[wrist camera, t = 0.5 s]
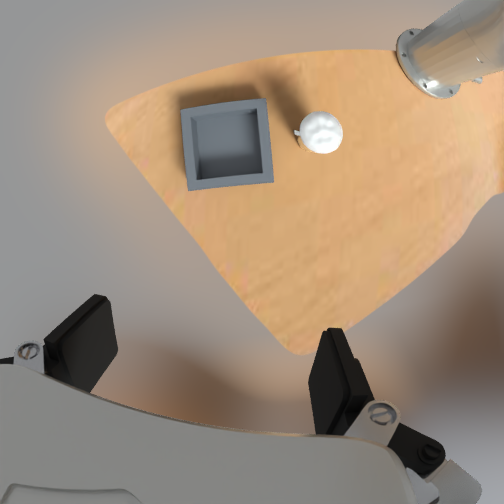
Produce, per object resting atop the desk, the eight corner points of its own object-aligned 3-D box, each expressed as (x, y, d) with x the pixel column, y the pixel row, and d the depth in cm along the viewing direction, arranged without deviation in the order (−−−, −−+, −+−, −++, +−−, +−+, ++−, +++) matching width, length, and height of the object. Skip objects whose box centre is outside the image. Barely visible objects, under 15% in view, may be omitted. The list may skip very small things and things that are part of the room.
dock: (265, 105, 32) (266, 98, 29) (273, 181, 35) (274, 182, 32) (188, 114, 33) (180, 109, 29) (195, 189, 36) (188, 191, 32)
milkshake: (283, 125, 33) (290, 109, 23) (323, 122, 32) (344, 106, 23) (288, 159, 34) (297, 155, 25) (328, 155, 34) (350, 150, 24)
